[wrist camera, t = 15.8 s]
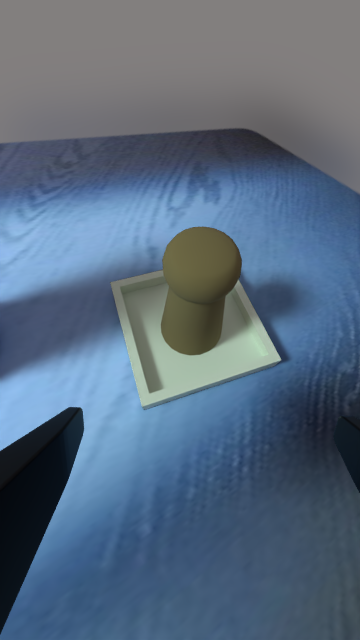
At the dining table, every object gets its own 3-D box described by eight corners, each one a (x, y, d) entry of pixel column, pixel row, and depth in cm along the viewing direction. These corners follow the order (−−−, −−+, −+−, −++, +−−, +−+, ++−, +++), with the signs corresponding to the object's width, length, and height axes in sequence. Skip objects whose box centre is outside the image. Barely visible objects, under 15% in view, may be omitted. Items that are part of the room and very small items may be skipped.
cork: (199, 291, 27) (215, 200, 17) (234, 335, 25) (275, 260, 15) (149, 317, 26) (136, 233, 16) (181, 367, 23) (190, 305, 14)
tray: (274, 366, 24) (281, 360, 23) (144, 409, 22) (142, 406, 20) (222, 265, 30) (225, 254, 28) (113, 292, 27) (110, 282, 26)
